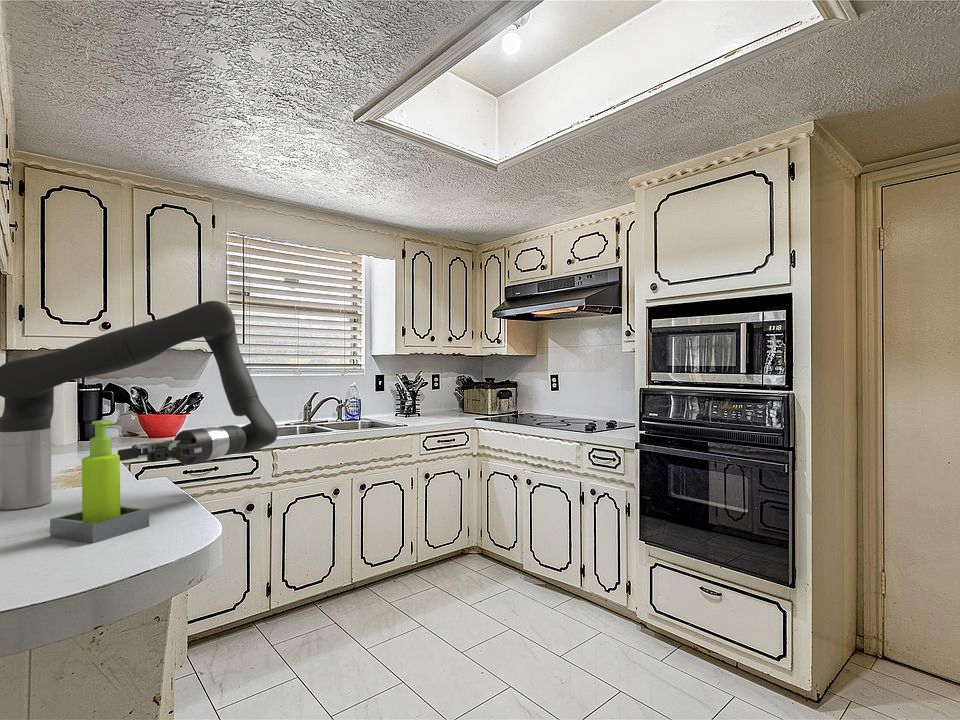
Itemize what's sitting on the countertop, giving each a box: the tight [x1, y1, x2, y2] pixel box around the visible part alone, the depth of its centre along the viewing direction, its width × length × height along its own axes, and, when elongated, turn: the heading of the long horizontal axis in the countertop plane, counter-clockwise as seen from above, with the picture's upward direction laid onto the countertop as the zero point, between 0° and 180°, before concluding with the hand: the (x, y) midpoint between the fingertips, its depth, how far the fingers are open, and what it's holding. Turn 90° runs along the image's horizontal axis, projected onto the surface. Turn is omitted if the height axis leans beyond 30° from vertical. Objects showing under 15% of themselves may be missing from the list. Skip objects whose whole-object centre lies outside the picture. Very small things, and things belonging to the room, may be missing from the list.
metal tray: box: [49, 505, 150, 544], centre depth 102 cm, size 12×11×3 cm
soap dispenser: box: [81, 419, 121, 523], centre depth 102 cm, size 6×7×20 cm
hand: (133, 456), depth 108 cm, fingers open, 8 cm apart
